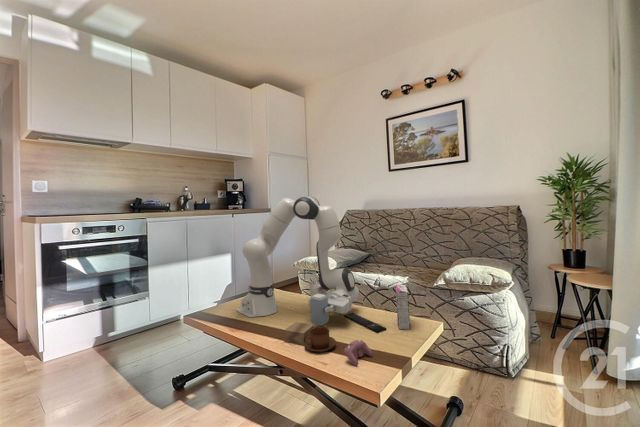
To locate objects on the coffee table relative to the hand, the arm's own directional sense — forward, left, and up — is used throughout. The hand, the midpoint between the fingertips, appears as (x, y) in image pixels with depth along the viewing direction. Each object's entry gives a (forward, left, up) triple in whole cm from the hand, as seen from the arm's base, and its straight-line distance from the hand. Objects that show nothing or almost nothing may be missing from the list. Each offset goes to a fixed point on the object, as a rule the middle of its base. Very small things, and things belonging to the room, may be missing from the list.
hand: (318, 309), depth 135 cm
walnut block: (-1, -12, -9) cm, 15 cm away
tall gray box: (0, +1, -6) cm, 6 cm away
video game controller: (+28, -14, -9) cm, 32 cm away
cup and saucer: (+11, -13, -9) cm, 19 cm away
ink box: (-15, +21, -9) cm, 27 cm away
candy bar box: (+29, +23, -9) cm, 38 cm away
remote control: (+13, +16, -10) cm, 23 cm away
